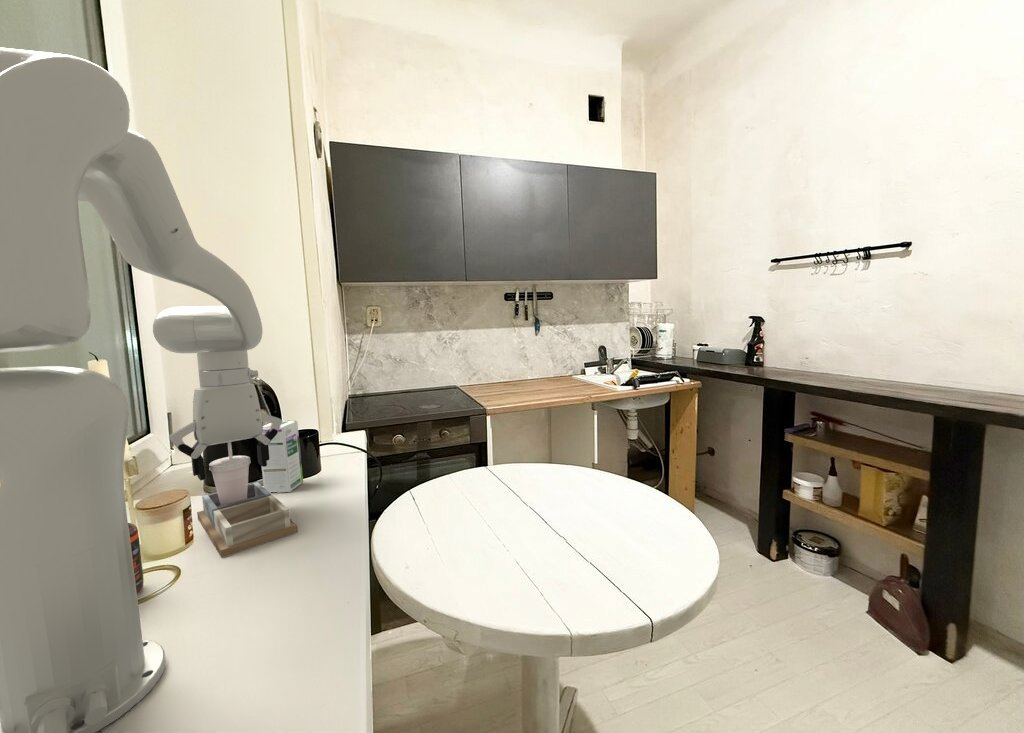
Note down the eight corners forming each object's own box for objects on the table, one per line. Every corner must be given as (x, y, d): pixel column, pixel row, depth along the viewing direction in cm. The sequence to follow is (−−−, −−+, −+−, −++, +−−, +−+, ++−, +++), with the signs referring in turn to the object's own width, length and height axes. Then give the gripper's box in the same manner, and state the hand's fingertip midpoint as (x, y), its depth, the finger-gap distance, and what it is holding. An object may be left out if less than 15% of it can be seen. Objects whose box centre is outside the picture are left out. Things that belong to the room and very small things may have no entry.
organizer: (297, 531, 73) (295, 508, 72) (221, 557, 65) (218, 531, 65) (263, 500, 87) (261, 480, 86) (197, 518, 79) (195, 496, 79)
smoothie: (258, 502, 83) (252, 431, 81) (249, 515, 77) (242, 440, 75) (220, 507, 81) (213, 435, 80) (208, 521, 75) (200, 444, 74)
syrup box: (290, 493, 90) (284, 425, 89) (262, 493, 90) (256, 426, 89) (303, 483, 96) (298, 419, 95) (277, 483, 96) (272, 420, 95)
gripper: (271, 373, 86) (278, 456, 87) (161, 382, 73) (170, 479, 75) (283, 375, 80) (290, 464, 82) (166, 385, 68) (177, 489, 70)
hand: (233, 471), depth 78 cm, fingers open, 9 cm apart
